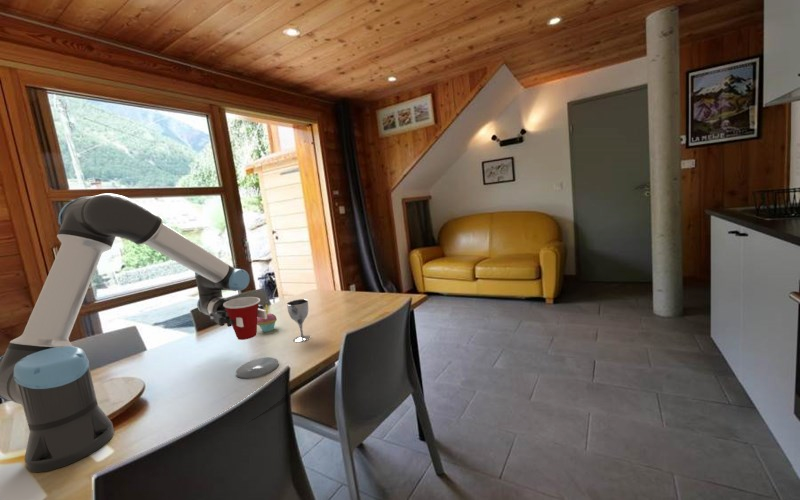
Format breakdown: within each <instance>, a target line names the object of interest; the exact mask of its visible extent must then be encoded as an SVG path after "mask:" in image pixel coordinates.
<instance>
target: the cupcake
mask: <svg viewBox="0 0 800 500" xmlns="http://www.w3.org/2000/svg"><path fill="white" fill-rule="evenodd" d="M265 310H266V313H267V319H263V318H259V317H257V326H258V327H260V329H261V331H262V332H264V333H267V332H271V331H273V330H275V329H274V328H275V325H276V322H277V320H278V319H277V316H276V314H273V313H269V312H268V304H267V303H266V305H265Z"/></svg>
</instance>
